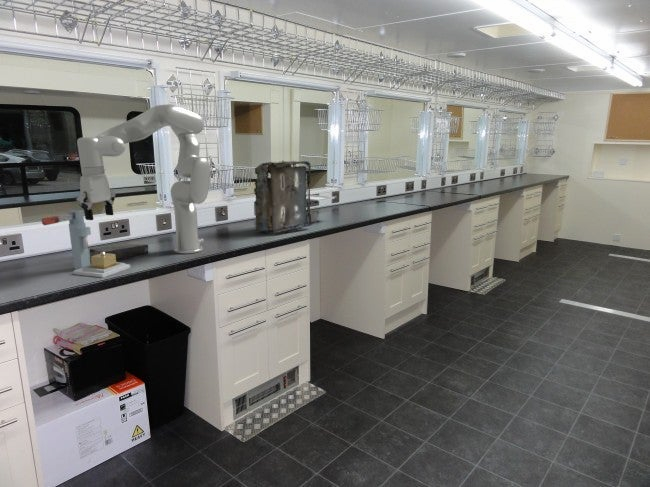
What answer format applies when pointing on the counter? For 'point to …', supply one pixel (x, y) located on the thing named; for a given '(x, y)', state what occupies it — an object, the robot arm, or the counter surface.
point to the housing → (103, 261)
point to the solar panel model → (316, 198)
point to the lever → (58, 219)
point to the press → (86, 249)
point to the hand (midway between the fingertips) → (100, 217)
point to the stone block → (122, 250)
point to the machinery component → (282, 196)
